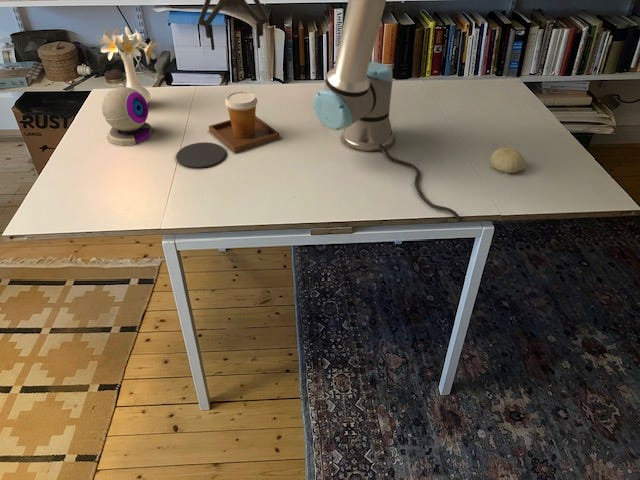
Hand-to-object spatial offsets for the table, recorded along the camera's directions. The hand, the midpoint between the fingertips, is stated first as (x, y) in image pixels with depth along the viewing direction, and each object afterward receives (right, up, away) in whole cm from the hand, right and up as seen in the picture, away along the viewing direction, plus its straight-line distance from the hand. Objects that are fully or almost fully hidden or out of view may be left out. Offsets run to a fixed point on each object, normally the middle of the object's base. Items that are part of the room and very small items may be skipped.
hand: (236, 47), depth 163 cm
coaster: (-9, -33, -5) cm, 35 cm away
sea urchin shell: (+78, -37, -9) cm, 87 cm away
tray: (+2, -25, +5) cm, 26 cm away
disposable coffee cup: (+2, -25, +5) cm, 26 cm away
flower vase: (-35, -13, +21) cm, 43 cm away
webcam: (-33, -25, +5) cm, 42 cm away
